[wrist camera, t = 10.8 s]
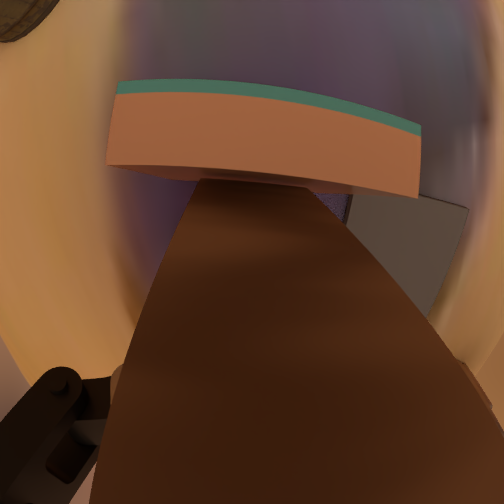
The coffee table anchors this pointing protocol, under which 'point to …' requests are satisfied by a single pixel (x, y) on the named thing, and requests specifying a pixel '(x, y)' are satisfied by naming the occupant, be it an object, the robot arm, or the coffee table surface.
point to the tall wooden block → (288, 372)
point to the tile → (262, 137)
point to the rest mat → (409, 239)
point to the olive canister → (22, 17)
